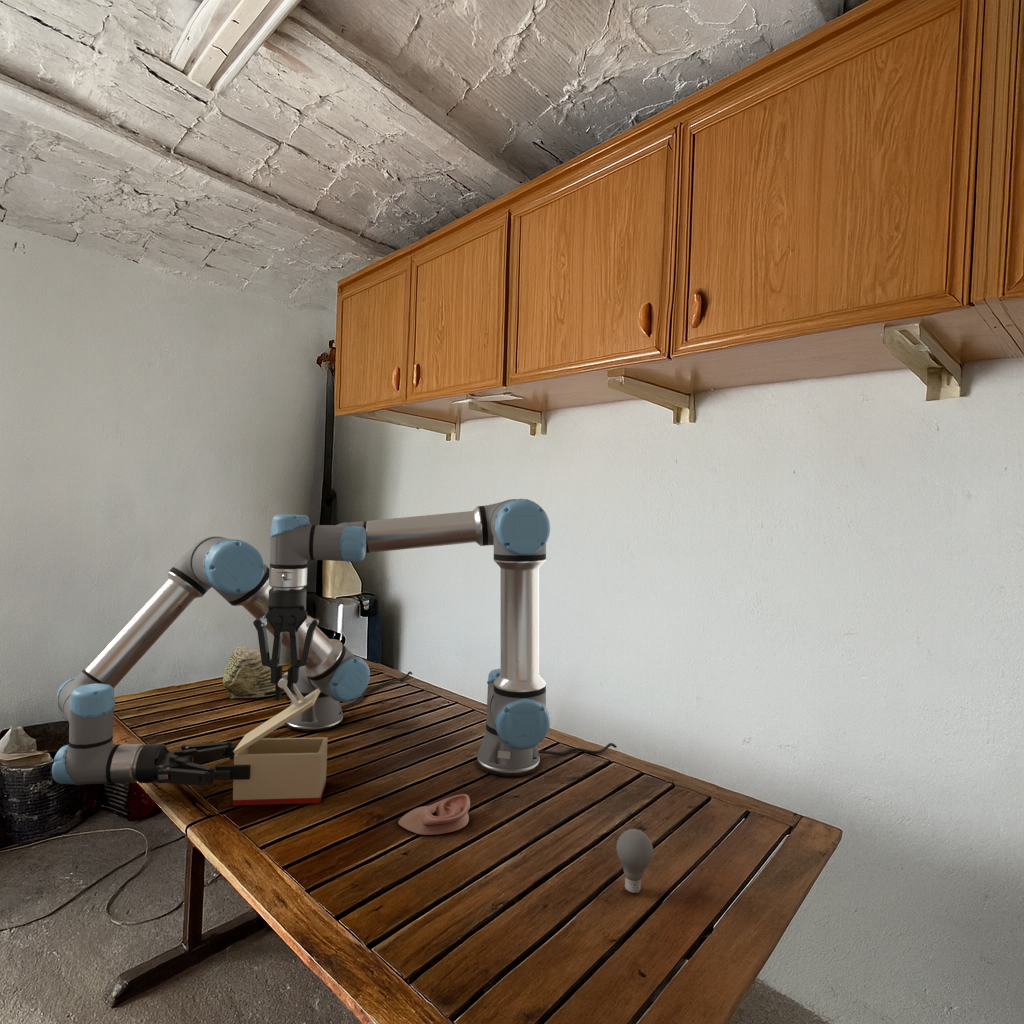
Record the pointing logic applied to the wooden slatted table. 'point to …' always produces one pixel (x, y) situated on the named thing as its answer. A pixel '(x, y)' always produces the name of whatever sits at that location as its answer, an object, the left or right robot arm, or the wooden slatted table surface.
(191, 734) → the wooden slatted table surface
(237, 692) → the fossil
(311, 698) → the lid
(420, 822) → the anatomical model
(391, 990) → the wooden slatted table surface
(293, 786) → the chest
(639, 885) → the light bulb
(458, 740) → the wooden slatted table surface
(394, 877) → the wooden slatted table surface
